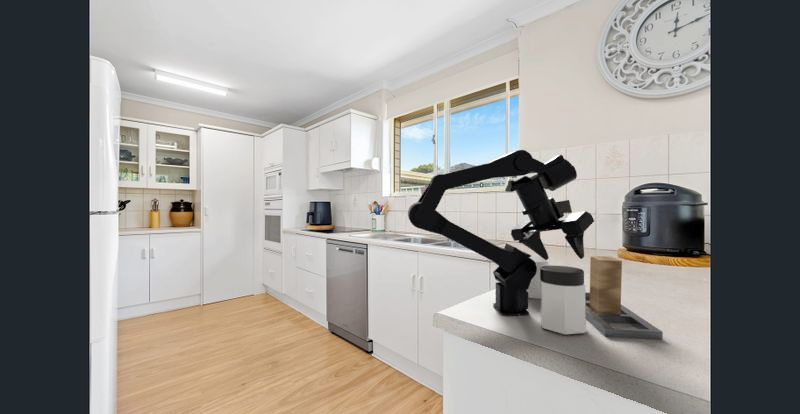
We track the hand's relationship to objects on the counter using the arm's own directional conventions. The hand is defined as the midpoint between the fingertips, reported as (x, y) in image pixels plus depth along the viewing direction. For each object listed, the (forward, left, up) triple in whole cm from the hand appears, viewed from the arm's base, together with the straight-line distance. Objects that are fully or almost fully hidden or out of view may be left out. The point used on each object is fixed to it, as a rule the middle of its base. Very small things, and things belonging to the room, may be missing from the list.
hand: (563, 258), depth 75 cm
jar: (-6, -10, -12) cm, 17 cm away
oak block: (+7, -4, -12) cm, 15 cm away
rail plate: (+7, -4, -12) cm, 15 cm away
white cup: (-3, +11, -12) cm, 17 cm away
